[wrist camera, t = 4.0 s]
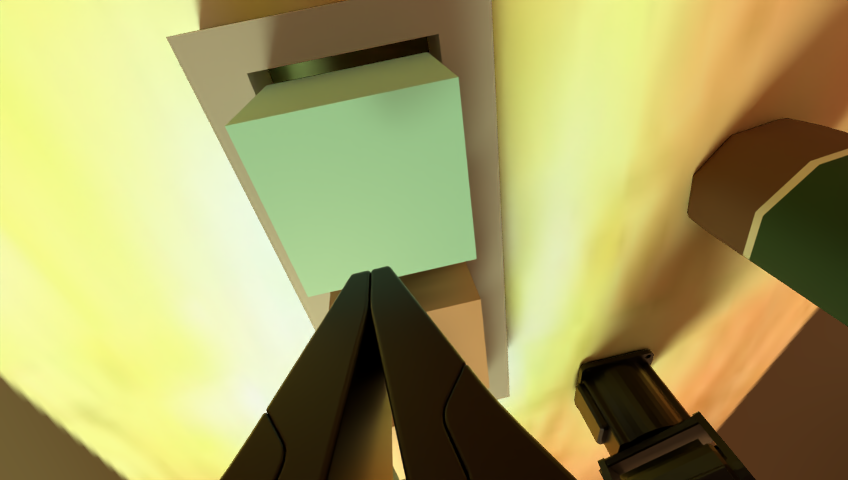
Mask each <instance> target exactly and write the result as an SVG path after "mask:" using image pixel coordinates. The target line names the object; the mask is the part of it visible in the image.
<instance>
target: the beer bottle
mask: <svg viewBox="0 0 848 480" xmlns="http://www.w3.org/2000/svg"><path fill="white" fill-rule="evenodd" d="M687 213H688V216H689V218H691V219H692V220H693V221H694V222H696V223H697V224H698V225H700V226H701V227H702V228H703V229H705V230H706V231H707V232H709V233H710V234H711V235H713V236H714V237H716V238H717V239H719V240H720V241H722V242H723V243H725V244H726V245H728V246H729V247H731V248H732V249H734V250H735V251H737V252H738V253H740V254H741V255H743V256H744V257H746V258H747V259H748V260H750V261H751V262H753V263H754V264H756V265H757V266H759V267H760V268H762V269H763V270H765V271H766V272H768V273H769V274H771V275H772V276H774V277H775V278H777V279H778V280H780V281H781V282H783V283H784V284H785V285H787V286H788V287H790V288H791V289H793V290H794V291H796V292H797V293H799V294H800V295H802V296H803V297H805V298H806V299H808V300H809V301H811V302H812V303H814V304H815V305H817V306H818V307H820V308H821V309H823V310H824V311H825V312H827V313H828V314H830V315H831V316H833V317H834V318H836V319H837V320H839V321H840V322H842V323H843V324H845V325H846V326H848V133H846V132H843V131H839V130H836V129H832V128H829V127H825V126H821V125H817V124H812V123H807V122H803V121H798V120H793V119H789V118H785V119H779V120H776V121H773V122H770V123H767V124H764V125H761V126H758V127H755V128H752V129H749V130H746V131H743V132H740V133H737V134H734V135H731V136H730V137H729V138H728V139H727V140H726V141H725V143H724V144H723V145H722V146H721V147H720V148H719V149H718V150H717V151H716V152H715V153H714V154H713V155H712V156H711V157H710V159H709V160H708V161H707V162H706V163H705V164H704V165H703V166H702V167H701V168H700V169H699V170H698V171H697V172H696V174H695V175H694V176H693V180H692V187H691V193H690V199H689V205H688V211H687Z"/></svg>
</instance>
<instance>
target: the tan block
mask: <svg viewBox="0 0 848 480" xmlns="http://www.w3.org/2000/svg"><path fill="white" fill-rule="evenodd" d="M399 278H400V280H401V281H402V282H403V284H404V285H405V286H406V287H407V289H408V290H409V291H410V292H411V294H412V295H413V296H414V297H415V299H416V300H417V301H418V303H419V304H420V305H421V306H422V308H423V309H424V310H425V311H426V313H427V314H428V315H429V316H430V318H431V319H432V320H433V322H434V323H435V324H436V325H437V327H438V328H439V329H440V330H441V332H442V333H443V334H444V335H445V337H446V338H447V339H448V340H449V342H450V343H451V344H452V346H453V347H454V348H455V349H456V351H457V352H458V353H459V354H460V356H461V357H462V358H463V359H464V361H465V362H466V365H468V366H469V367H470V368H471V369H472V370H473V372H474V373H475V374H476V376H477V377H478V378H479V379H480V381H481V382H482V383H483V384H484V385H485V386H486V388H487V389H488V388H490V386H489V376H488V366H487V356H486V346H485V336H484V326H483V316H482V306H481V299H480V296H479V294H478V291H477V289H476V286H475V284H474V281H473V279H472V276H471V274H470V271H469V269H468V267H467V264H466V262H461V263H457V264H452V265H448V266H443V267H439V268H435V269H430V270H426V271H421V272H417V273H413V274H408V275H404V276H399ZM340 292H341V290H338V291H333V292H330V302H329V309H330V308H331V306H332V304H333V303H334V301H335V300H336V298H337V297H338V295H339V293H340Z"/></svg>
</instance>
